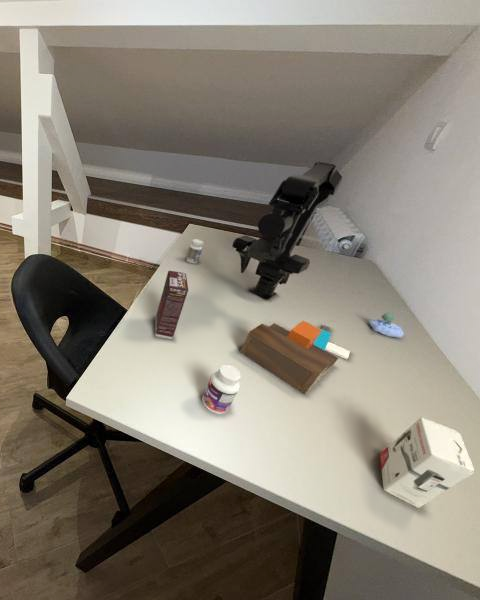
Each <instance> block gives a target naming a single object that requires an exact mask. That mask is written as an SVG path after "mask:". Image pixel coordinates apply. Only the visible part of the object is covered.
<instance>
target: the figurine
mask: <svg viewBox="0 0 480 600" xmlns="http://www.w3.org/2000/svg"><path fill="white" fill-rule="evenodd" d="M394 320H395V315H394V314H393V313H391V312H386V313H383V314H382V315H381V318H377V319H370V320H369V325H370V327H372V330H373V331H374V332H377V333H380V334H381V335H384V336H386V337H391V338H398V339H400V338H403V336H404V334H405V333H404V331H403V329H402V327H401V326H398V325H397V324H396V323H394V322H393V321H394Z"/></svg>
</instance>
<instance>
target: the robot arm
mask: <svg viewBox="0 0 480 600" xmlns="http://www.w3.org/2000/svg"><path fill="white" fill-rule="evenodd" d="M342 181H343V176H342V174H341V173H340V172H339V171H338V165H337V164H336V163H331V162H325V161H316V162H315V163H314V164H313V166H312V167H310V168H309V169H308V170H307V171H305V172H304V173H303V174H293V175H289V176H288V177H286V179H284V180H282V182H280V185H279V187H278V188H277V189H276V191H275V193H274V195H272V198H271V199H270V201H269V202H268V206H271V207H273V210H272V211H271V212H269V213H267V214H265V215H263V216H262V217H261V218H260V219H259V220H258V224H257V229H258V232H259V233H260V234H261V236H260V237H259V238H258V239H257V238H255V237H252V236H249V235H247V234H245V235H242V236H238V237H236V238H235V239H233V242H232V245H231V247H232V248H234V249H235V252H236V253H238V255H239V258H240V273H241V274H244V273H245V272H246V270H247V268H248V266H249V264H250V260H251V259H253V260H256V261H258V264H257V266H256V270H255V273H254V275H256V276H259V278H258V280H257V282H256V284H255V286H254V287H252V288H250V289H249V292H251V293H253V294H255V295H256V296H258V297H261V298H263V299H264V300H266V301H267V300H268V301H269V300H270V299H272V298H274V297H275V296H277V294H278V293H277V292H276V289H277V287H278V285H287V283H288V280H289V278H290V276H291V275H294V274H297V275H299V274H301V273H303V272H304V271H307V270H308V268H309V266H310V264H311V262H310V259H309V258H307V257H304V256H302V255H299V254H293V255H292V252H293V250H294V249H295V247H296V245H297V244H298V242H299V241H300V238H301V237H302V235H303V233H304V232H305V230H306V228H307V227H308V226H309V223H310V221H312V218H313V217H314V214H315V213H316V211H317V210H318V209H319V208H321V207H322V206H323V205H325V204H327V203H328V202H329V201H330V199H331V198H332V196H335V195H336V193H337V192H338V191H339V189H340V187H341V183H342Z"/></svg>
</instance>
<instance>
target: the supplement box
mask: <svg viewBox="0 0 480 600" xmlns="http://www.w3.org/2000/svg"><path fill="white" fill-rule="evenodd" d="M188 293H189V284H188V278H187V273H185V272H182V271H181V272H180V271H174V270H168V271H167V275H166V277H165V281H164V285H163V289H162V293H161V295H160V296H161V297H160V300H159V304H158V308H157V312H156V315H155V321H154V323H155V329H154V336H155V337H158V338H163V339H167V340H173V338H174V336H175V333H176V330H177V327H178V323H179V320H180V317H181V314H182V311H183V308H184V305H185V302H186V299H187V296H188Z"/></svg>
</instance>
